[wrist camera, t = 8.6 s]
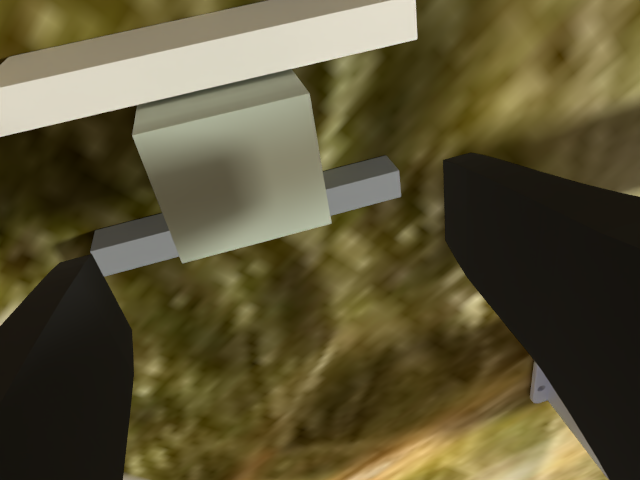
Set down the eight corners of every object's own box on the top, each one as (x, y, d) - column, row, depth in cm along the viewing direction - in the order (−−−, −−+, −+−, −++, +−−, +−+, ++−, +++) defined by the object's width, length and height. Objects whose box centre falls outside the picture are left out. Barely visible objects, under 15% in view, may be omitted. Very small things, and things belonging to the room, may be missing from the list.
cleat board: (388, 180, 22) (426, 228, 19) (106, 254, 21) (95, 320, 17) (369, -22, 17) (415, -6, 14) (8, 56, 16) (-32, 94, 13)
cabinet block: (292, 146, 20) (331, 223, 15) (179, 174, 20) (182, 263, 15) (271, 42, 18) (309, 93, 13) (142, 71, 17) (131, 135, 13)
